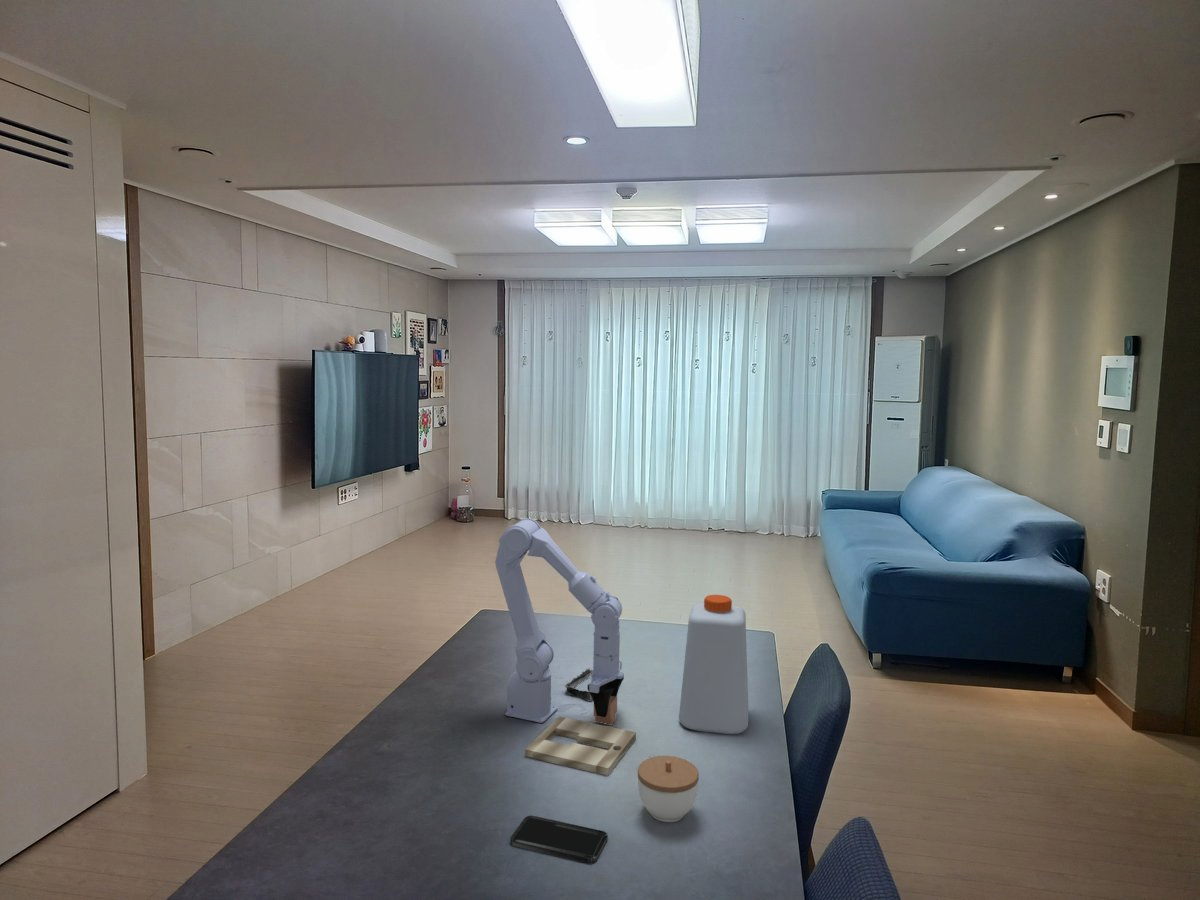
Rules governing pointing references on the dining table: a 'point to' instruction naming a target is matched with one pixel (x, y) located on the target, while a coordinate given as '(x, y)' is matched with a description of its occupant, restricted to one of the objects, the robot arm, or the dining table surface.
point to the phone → (559, 839)
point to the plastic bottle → (715, 668)
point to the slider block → (610, 714)
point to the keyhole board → (578, 753)
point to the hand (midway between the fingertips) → (605, 711)
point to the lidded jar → (667, 787)
